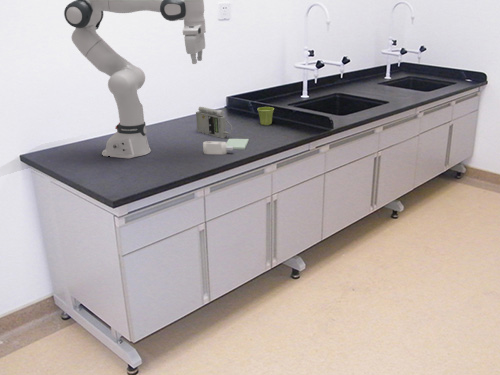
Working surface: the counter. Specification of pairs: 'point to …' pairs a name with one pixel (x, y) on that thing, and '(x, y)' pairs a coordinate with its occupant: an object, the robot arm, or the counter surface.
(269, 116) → the plant pot
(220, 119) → the geiger counter
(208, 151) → the connector
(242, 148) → the green mat
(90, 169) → the counter surface
